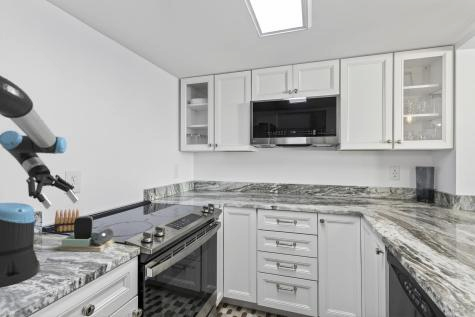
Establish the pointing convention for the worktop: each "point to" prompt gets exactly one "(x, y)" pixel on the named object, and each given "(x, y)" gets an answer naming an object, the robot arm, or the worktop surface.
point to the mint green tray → (89, 242)
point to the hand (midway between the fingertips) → (63, 204)
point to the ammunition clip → (65, 222)
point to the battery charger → (83, 227)
